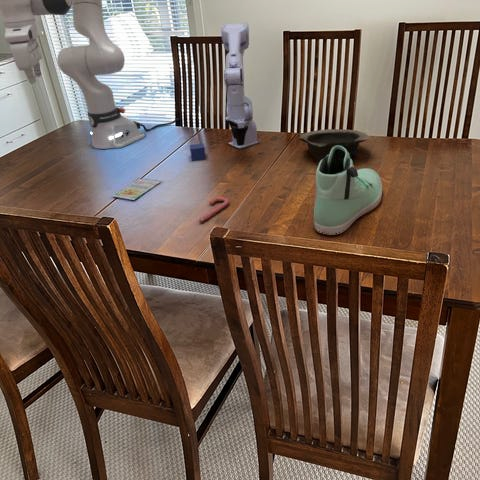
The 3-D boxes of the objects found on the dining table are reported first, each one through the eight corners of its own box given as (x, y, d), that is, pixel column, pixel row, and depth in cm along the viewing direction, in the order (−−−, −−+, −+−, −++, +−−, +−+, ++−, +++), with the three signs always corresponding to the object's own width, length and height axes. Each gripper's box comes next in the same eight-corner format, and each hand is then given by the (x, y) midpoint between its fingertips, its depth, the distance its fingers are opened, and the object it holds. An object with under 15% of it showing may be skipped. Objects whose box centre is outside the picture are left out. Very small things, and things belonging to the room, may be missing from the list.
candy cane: (186, 219, 140) (185, 215, 139) (217, 198, 150) (217, 194, 149) (202, 224, 137) (201, 219, 136) (233, 202, 147) (232, 198, 146)
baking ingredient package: (111, 195, 156) (139, 178, 167) (112, 196, 156) (139, 179, 168) (133, 199, 152) (160, 181, 164) (133, 200, 153) (160, 182, 164)
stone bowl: (326, 173, 160) (325, 146, 155) (286, 156, 180) (285, 132, 176) (384, 155, 168) (385, 129, 164) (340, 141, 189) (339, 117, 184)
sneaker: (389, 187, 148) (396, 123, 138) (356, 242, 123) (361, 168, 112) (346, 181, 154) (350, 119, 144) (306, 232, 129) (307, 161, 118)
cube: (191, 156, 183) (189, 144, 181) (204, 154, 184) (202, 143, 181) (192, 161, 179) (190, 149, 176) (205, 159, 180) (204, 147, 177)
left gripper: (18, 28, 150) (31, 73, 157) (3, 37, 132) (18, 88, 140) (39, 26, 150) (51, 71, 158) (26, 35, 133) (40, 85, 140)
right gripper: (221, 100, 171) (224, 136, 178) (228, 111, 159) (231, 150, 166) (240, 97, 172) (242, 134, 179) (249, 108, 160) (251, 147, 167)
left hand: (36, 79), depth 148 cm, fingers open, 8 cm apart
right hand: (238, 141), depth 173 cm, fingers open, 7 cm apart
